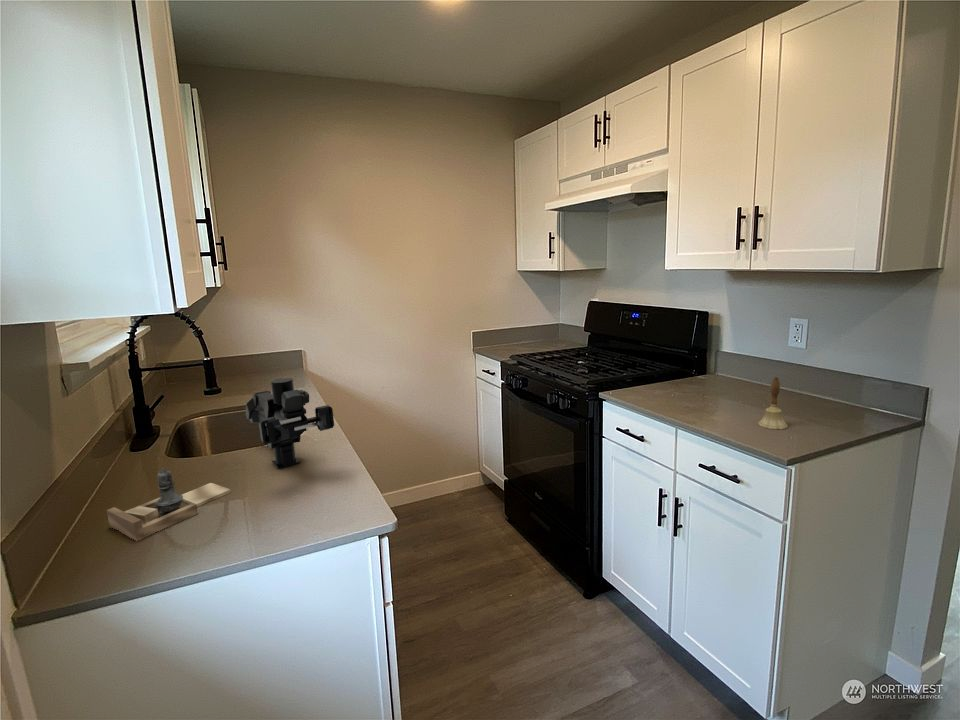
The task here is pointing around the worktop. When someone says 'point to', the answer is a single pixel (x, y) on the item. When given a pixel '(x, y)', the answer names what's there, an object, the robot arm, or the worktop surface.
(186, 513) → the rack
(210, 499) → the cork mat
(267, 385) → the worktop surface
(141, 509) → the offcut upper
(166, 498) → the grey chess piece
